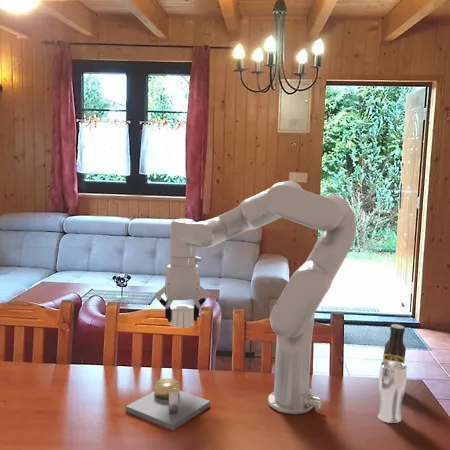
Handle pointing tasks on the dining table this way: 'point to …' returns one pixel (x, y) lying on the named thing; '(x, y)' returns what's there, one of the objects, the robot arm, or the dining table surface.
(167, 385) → the brass disc
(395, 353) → the sauce bottle
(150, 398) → the board
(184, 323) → the ring
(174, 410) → the pin
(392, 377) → the beer glass
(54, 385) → the dining table surface
